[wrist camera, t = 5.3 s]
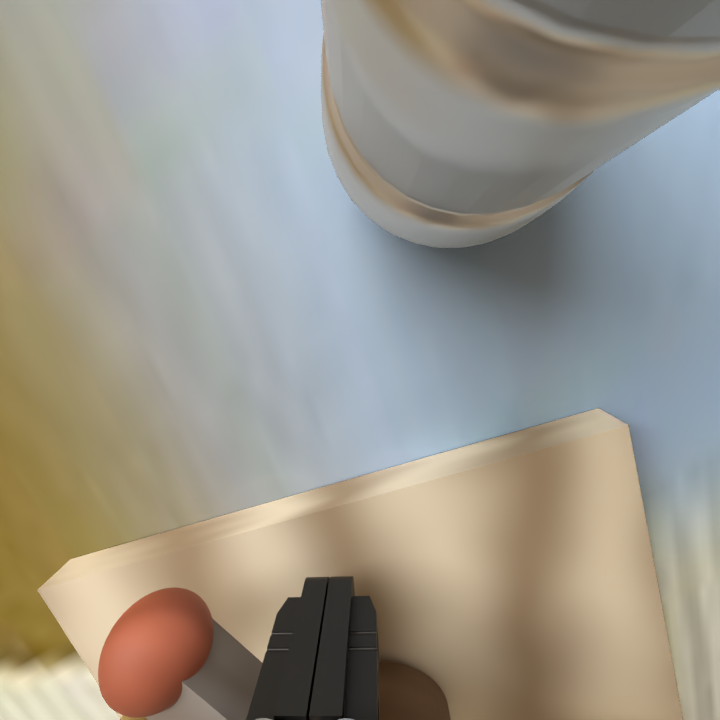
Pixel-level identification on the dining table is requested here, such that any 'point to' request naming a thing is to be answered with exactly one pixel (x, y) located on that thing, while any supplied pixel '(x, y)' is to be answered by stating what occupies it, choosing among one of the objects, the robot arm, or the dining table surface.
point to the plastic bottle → (499, 102)
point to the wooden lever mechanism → (439, 574)
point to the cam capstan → (215, 667)
